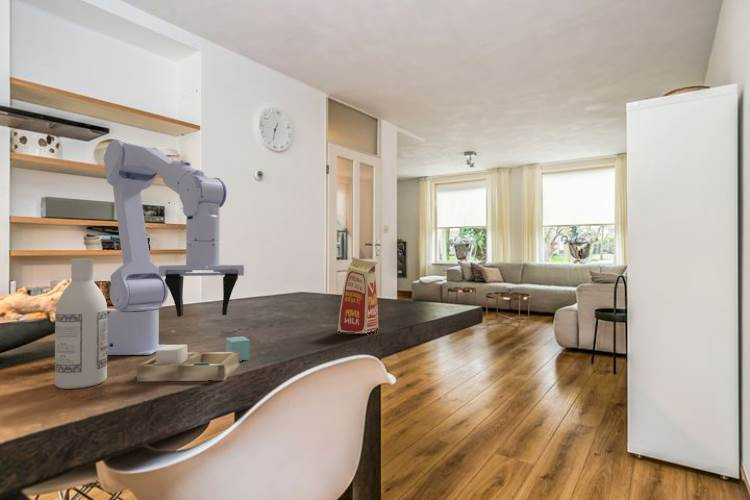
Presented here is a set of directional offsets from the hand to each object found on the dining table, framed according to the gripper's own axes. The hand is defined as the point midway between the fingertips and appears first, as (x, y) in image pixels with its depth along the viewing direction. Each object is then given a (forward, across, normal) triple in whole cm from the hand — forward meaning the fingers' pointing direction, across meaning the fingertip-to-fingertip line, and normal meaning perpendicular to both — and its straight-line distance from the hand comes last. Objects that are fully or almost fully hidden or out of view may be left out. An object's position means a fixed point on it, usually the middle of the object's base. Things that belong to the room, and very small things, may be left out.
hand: (202, 315), depth 81 cm
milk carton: (+10, +36, +27) cm, 46 cm away
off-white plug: (+9, -4, -3) cm, 10 cm away
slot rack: (+9, -1, -4) cm, 10 cm away
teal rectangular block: (+10, +6, +5) cm, 12 cm away
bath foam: (+10, -18, -6) cm, 21 cm away
